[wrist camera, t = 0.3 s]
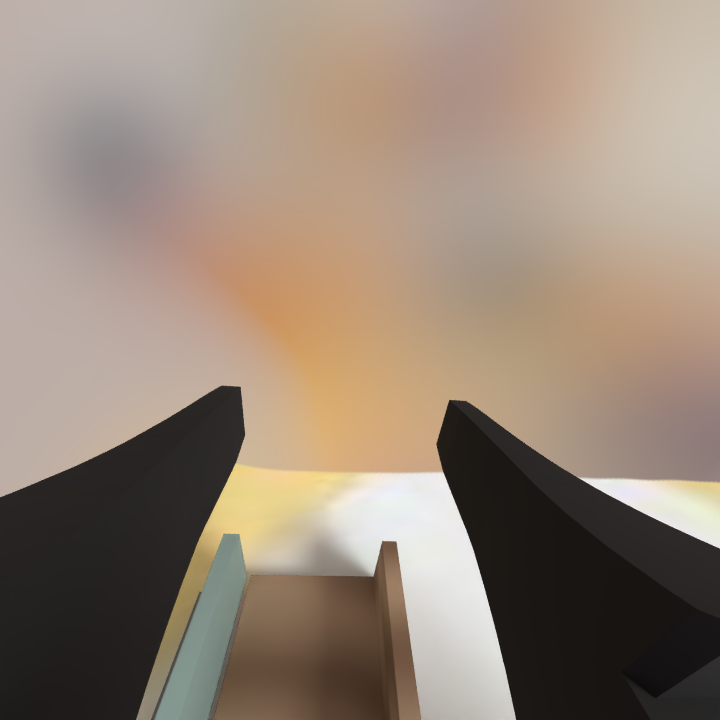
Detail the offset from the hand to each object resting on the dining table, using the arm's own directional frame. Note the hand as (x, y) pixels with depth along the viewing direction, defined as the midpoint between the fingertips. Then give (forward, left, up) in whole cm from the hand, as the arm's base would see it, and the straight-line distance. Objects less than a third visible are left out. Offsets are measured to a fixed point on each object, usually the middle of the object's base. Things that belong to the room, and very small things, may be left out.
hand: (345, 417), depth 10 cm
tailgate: (-3, +6, -19) cm, 20 cm away
